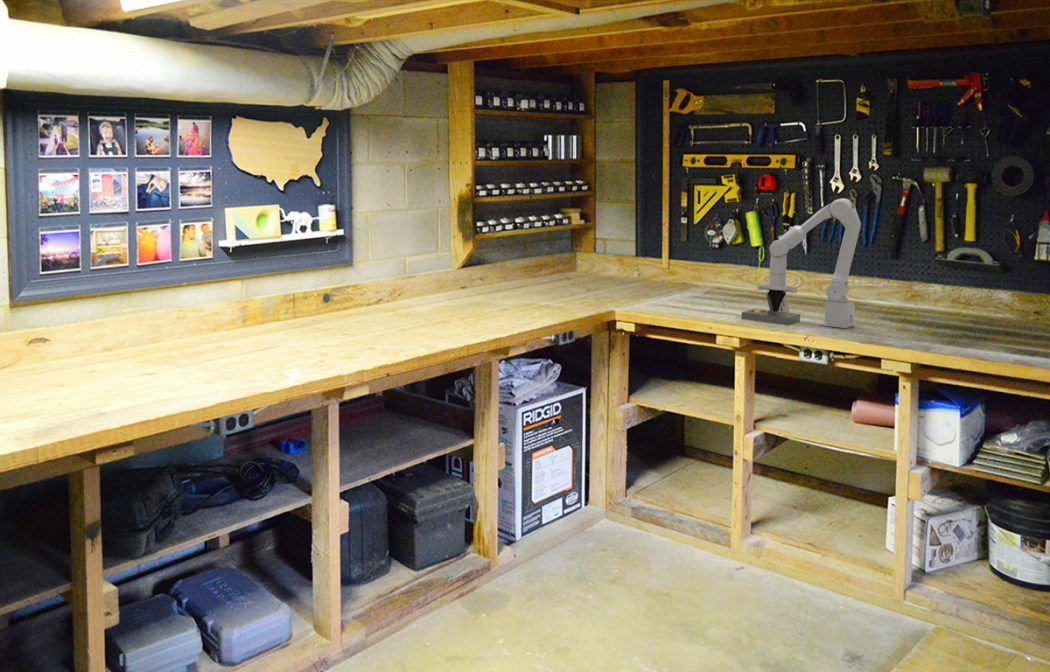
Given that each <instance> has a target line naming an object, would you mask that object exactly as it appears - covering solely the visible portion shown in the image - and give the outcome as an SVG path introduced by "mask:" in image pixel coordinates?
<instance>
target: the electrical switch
mask: <svg viewBox="0 0 1050 672" xmlns="http://www.w3.org/2000/svg"><path fill="white" fill-rule="evenodd" d="M779 290H781V289H779ZM766 299H767V303H768V307H769V311H773V308H772V304H771V301H770V298H769V296H768V294H766ZM778 312H786V313H790V307H789V304H788V299H787V294H786V295H785V296H784V298H783V300H782V302H781V305H780V308H779V311H778Z"/></svg>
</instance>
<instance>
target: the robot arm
mask: <svg viewBox="0 0 1050 672" xmlns="http://www.w3.org/2000/svg"><path fill="white" fill-rule="evenodd" d="M859 217H860V216H859V215H858V212H857V208H856V205H854V203H853V202H852V201H851V200H850V199H849V198H843V197H842V198H837V199H835V200H833V201H832V202H831V203H829V204H827V205H826V206H823V208H820V209H819V210H818V211H816V212H815V214H813V215H812V216H811V217H810V218H808V219H807V220H806V221H805V222H804V223H802V224H801V225H794V226H790V227H788V231H785V233H784V234H782V235H779V236H778V237H777V238H778V239H777V240H773V242H771V244H770V246H769V252H770V260H769V276H768V279H769V280H768V282H769V283H768V284H766V283H758V284H756V285H757V288H756V290H759V291H760V290H761V291H763V290H764V291H767V294H766V295H768V296H769V298H770V301H771V304H772V308H773V311H775V312H777V311H779V308H780V305H781V302H782V300H783V298H784V296H785V295H786V296H787V293H789V294H791V293H792V294H797V293H798V287H797V286H796V287H795V286H790V285H786V281H787V263H788V262H787V257H788V256H787V255H788V253H789V251H790V250H792V249H793V248H795V247H796V246H797V245H799V243H802V241H803V240H805V239H806V236H807V233H808V232H809V231H811V230H812V229H813V228H814V227H816V226H818V224H820V223H822V222H823V221H824V220H827V219H831V218H835V219H837V220H838V221H840V223H841V224H842V225H843V227H844V232H843V236H842V241H841V245H840V249H839V253H838V256H837V260H836V265H835V269H834V271H833V272H834V273H833V275H832V277H831V281H830V283H829V284H828V286H827V287H826V289H825V295H826V296H827V297H826V298H825V308H824V309H825V310H824V321H823V322H822V323H819V326H826V327H835V328H840V329H841V328H842V329H848V328H851V327H854V326H855V309H856V307H855V303H854V302H852V301H848V298H847V297H846V295H848V292H849V289H850V288H849V284H848V282H849V274H850V270H851V266H852V262H853V258H854V255H855V254H854V253H855V251H856V245H857V242H858V238H859V234H860V231H861V226H862V223H861V220H860V218H859ZM780 289H781V290H780Z"/></svg>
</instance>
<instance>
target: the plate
mask: <svg viewBox="0 0 1050 672" xmlns="http://www.w3.org/2000/svg"><path fill="white" fill-rule="evenodd" d="M755 310H760V311H761V312H762V313H757V312H754V311H755ZM740 319H742V320H747V319H748V321H756V322H764V323H770V322H771V323H772V324H778V325H787V326H788V325H791V324H795V323H798V322H800V321H801V314H800V313H796V312H795V313H793V312H789V313H786V312H778V311H777V312H775V311H770V309H769V310H768V309H759V308H751V309H749V310H745V311H741V318H740ZM771 323H770V324H771Z"/></svg>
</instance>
